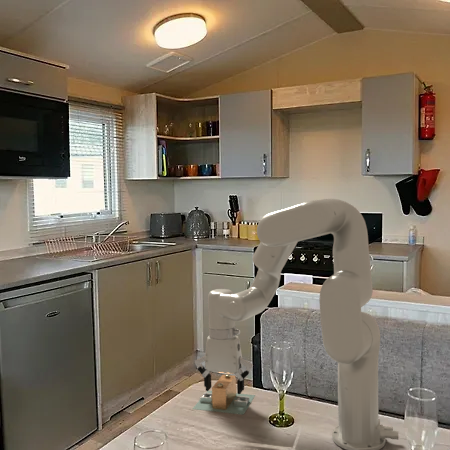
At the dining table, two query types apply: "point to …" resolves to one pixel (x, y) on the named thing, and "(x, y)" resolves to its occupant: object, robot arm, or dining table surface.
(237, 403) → the chain ends
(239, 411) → the board
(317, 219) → the robot arm
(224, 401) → the wooden block with studs
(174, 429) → the dining table surface
